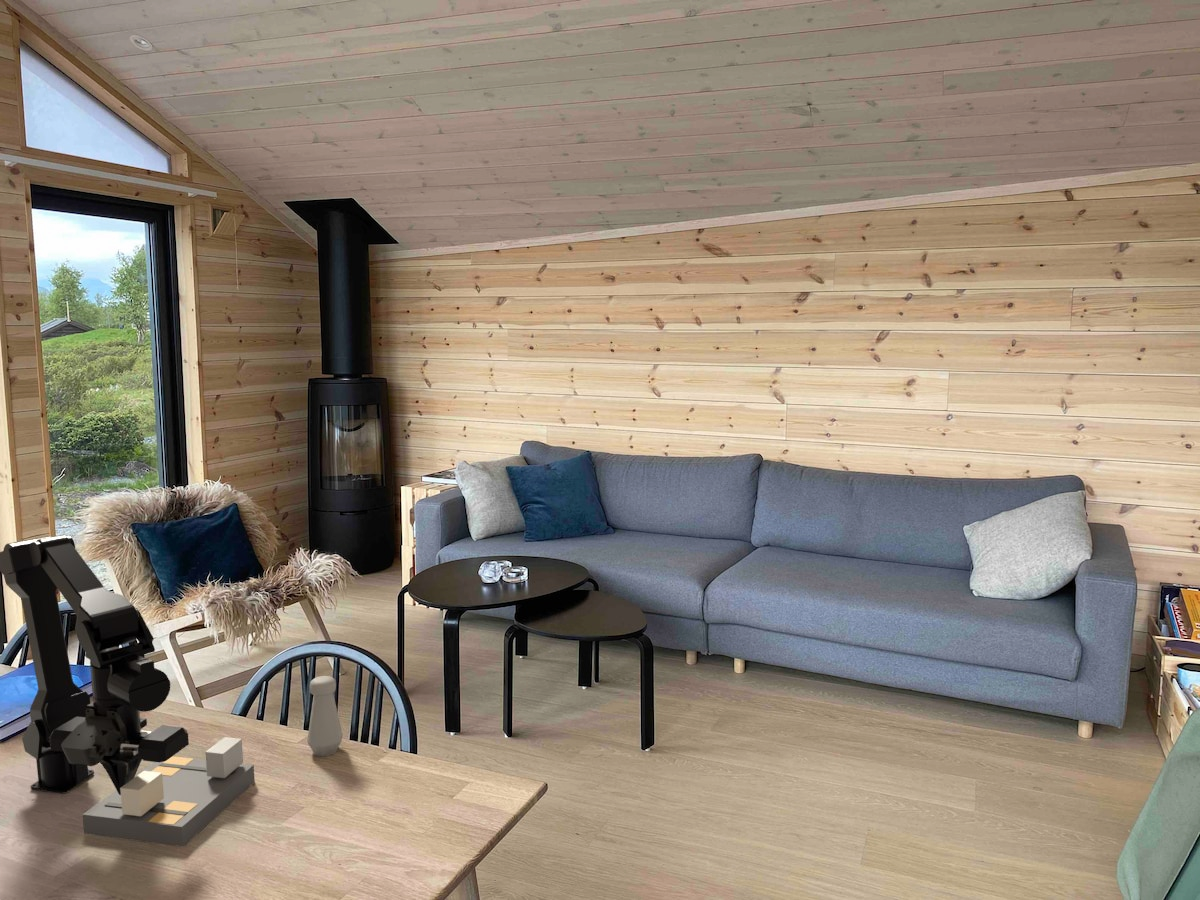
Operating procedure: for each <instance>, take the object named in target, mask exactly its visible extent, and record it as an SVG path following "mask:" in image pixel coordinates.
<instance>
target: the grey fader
mask: <svg viewBox="0 0 1200 900" xmlns="http://www.w3.org/2000/svg"><path fill="white" fill-rule="evenodd" d="M242 739H243V738H237V737H236V738H234V737H226V736H224V737H223V738H221V739H220V740H219V741H218V742H216V743H215V744H214V745H213V746H210V748H209V749H207V750H206V751H205V760H206V767H207V776H210V777H219V778H225V777H227V776H228V775H229V774H230V773H231V772H233V771H234V770H235V769H236V768H237V767H238V766H240V765H241V764H244V752H243V740H242Z"/></svg>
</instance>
